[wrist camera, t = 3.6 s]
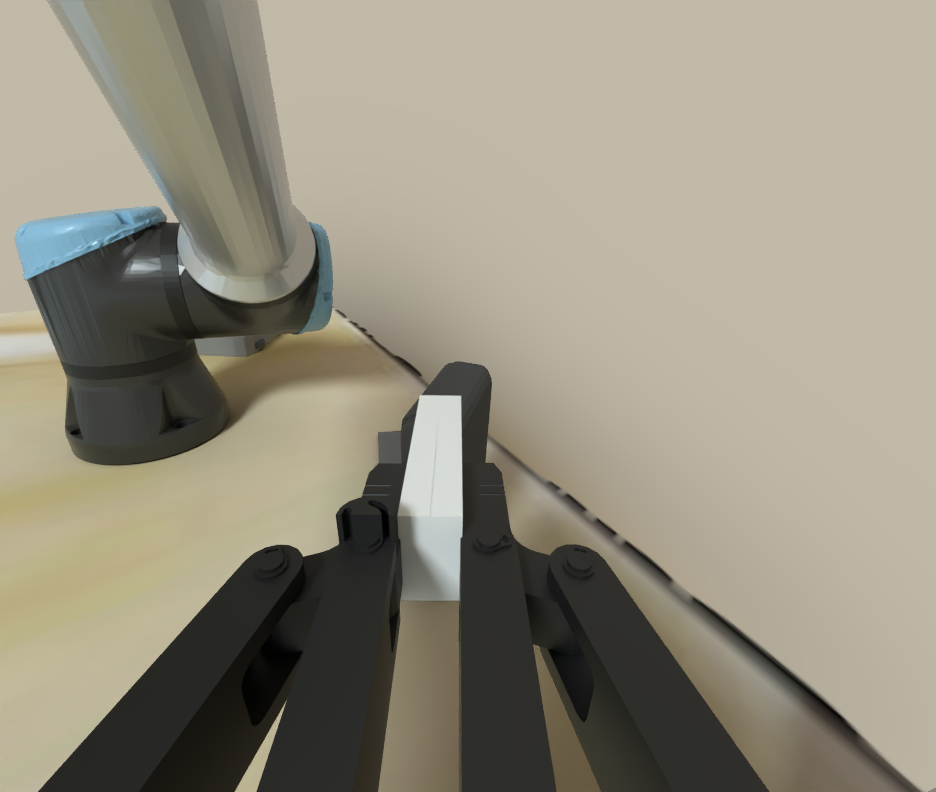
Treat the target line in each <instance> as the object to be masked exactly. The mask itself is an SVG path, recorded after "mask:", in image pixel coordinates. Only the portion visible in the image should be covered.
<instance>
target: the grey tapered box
mask: <svg viewBox="0 0 936 792" xmlns="http://www.w3.org/2000/svg"><path fill="white" fill-rule="evenodd" d="M278 335H279V334H270V335H253V336H236V337H220V338H206V339H194V340H195V344H196V348H197V352H198V355H210V356H233V357H241V356H249V355H252V354H254V353H256V352H257V351H258V350H260V349H261V348H262V347H264V346H265V345H266V344H267V343H269V342H270V341H271V340H273V339H274V338H275V337H276V336H278Z"/></svg>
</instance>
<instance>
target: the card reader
mask: <svg viewBox="0 0 936 792" xmlns="http://www.w3.org/2000/svg"><path fill="white" fill-rule="evenodd" d="M491 386H492V382H491V377H490V374H489V372H488V370H487V369H486V368H485V367H484V366H482V365H478V364H471V363H465V362H454V363H449V364H447V365H445V366H444V368H443V369H442V370H441V371H440V373H439V374H438V375H437V376H436V378H435V379H434V380H433V381H432V383H431V384H430V385H429V386H428V388H427V389H426V390H425V391H424V393H423V394H422V395H441V396H461V425H462V463H485V459H486V447H487V435H488V424H489V412H490V400H491V388H492V387H491ZM418 402H419V399H418V400H417V402H416V403H415V404H414V405H413V407H412V408H411V409H410V410H409V412H408V413H407V414H406V415H405V417H404V418H403V420H402V429H401V463H405V464H407V461H408V456H409V451H410V445H411V440H412V435H413V429H414V424H415V418H416V413H417V408H418Z"/></svg>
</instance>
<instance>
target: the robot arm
mask: <svg viewBox="0 0 936 792" xmlns="http://www.w3.org/2000/svg"><path fill="white" fill-rule="evenodd" d="M47 1H48V3H49V5H50V6H51V8H52V10H53V11H54V13H55V15H56V16H57V18H58V20H59V21H60V23H61V25H62V26H63V28H64V30H65V31H66V33H67V35H68V36H69V38H70V40H71V41H72V43H73V45H74V47H75V48H76V50H77V52H78V53H79V55H80V57H81V58H82V60H83V62H84V63H85V65H86V67H87V68H88V70H89V72H90V73H91V75H92V77H93V78H94V80H95V82H96V83H97V85H98V87H99V88H100V90H101V92H102V93H103V95H104V97H105V98H106V100H107V102H108V104H109V105H110V107H111V108H112V110H113V112H114V113H115V115H116V117H117V119H118V120H119V122H120V124H121V125H122V127H123V129H124V130H125V132H126V134H127V135H128V137H129V139H130V140H131V142H132V144H133V145H134V147H135V149H136V150H137V152H138V154H139V156H140V157H141V159H142V160H143V162H144V164H145V165H146V167H147V169H148V170H149V172H150V174H151V176H152V177H153V179H154V181H155V182H156V184H157V186H158V187H159V189H160V190H161V192H162V194H163V196H164V197H165V199H166V201H167V202H168V204H169V206H170V207H171V209H172V211H173V212H174V214H175V216H176V217H177V219H178V221H179V223H167V222H166V220H167V218H166V215H165V214H164V213H163V212H162V210H161V209H160V208H159V207H156V206H151V207H135V208H125V209H115V210H107V211H98V212H90V213H82V214H74V215H67V216H59V217H53V218H46V219H39V220H34V221H30V222H27V223H25V224H23V225H21V226H20V227H19V228H18V230H17V231H16V234H15V243H16V247H17V250H18V254H19V257H20V260H21V264H22V267H23V270H24V274H23V276H24V279H25V280H27V281H28V283H29V286H30V288H31V291H32V293H33V295H34V298H35V301H36V303H37V305H38V308H39V310H40V313H41V315H42V318H43V320H44V323H45V325H46V327H47V330H48V332H49V335H50V337H51V340H52V342H53V345H54V347H55V349H56V352H57V354H58V357H59V359H60V361H61V364H62V366H63V369H64V371H65V374H66V377H67V399H66V419H65V433H66V437H67V439H68V441H69V444H70V446H71V449H72V451H73V453H74V454H75V455H76V456H77V457H78V458H80V459H82V460H84V461H87V462H90V463H95V464H104V465H122V464H133V463H141V462H146V461H152V460H156V459H160V458H164V457H168V456H171V455H174V454H177V453H180V452H183V451H186V450H188V449H191V448H193V447H195V446H197V445H199V444H201V443H203V442H205V441H207V440H208V439H210V438H212V437H213V436H215V435H216V434H217V433H218V432H220V431H221V430H222V429H223V428H224V427H225V425H226V424H227V422H228V420H229V417H230V413H229V408H228V404H227V400H226V397H225V395H224V393H223V392H222V390H221V389H220V387H219V386H218V384H217V383H216V381H215V380H214V378H213V377H212V375H211V374H210V372H209V371H208V369H207V368H206V366H205V365H204V363H203V362H202V360H201V359H200V357H199V355H198V352H197V348H196V344H195V340H194V339H206V338H220V337H236V336H253V335H270V334H286V333H291V334H294V335H295V334H302V333H304V332H309V331H318V330H321V329H323V328H324V327H326V325H327V324H328V323H329V320H330V317H331V312H332V302H333V300H332V299H333V298H332V290H333V272H332V259H331V252H330V244H329V240H328V236H327V234H326V231H325V230H324V229H323V227H322V226H321V225H318V224H313V223H311V222H308V221H307V220H306V218H305V217H304V215H303V214H302V213H301V212H300V211H299V210H298V209H297V208H296V207H295V206H294V205H293V204H292V201H291V196H290V190H289V184H288V178H287V172H286V166H285V161H284V155H283V149H282V143H281V137H280V131H279V126H278V120H277V114H276V108H275V102H274V96H273V91H272V85H271V79H270V73H269V67H268V62H267V55H266V50H265V44H264V38H263V32H262V27H261V20H260V15H259V9H258V3H257V0H47ZM336 521H337V528H338V536H339V545H338V546H336V547H334V548H332V549H330V550H327V551H324V552H321V553H317V554H313V555H309V556H305V557H303V556H302V554H301V553H300V551H299V550H298V549H297V548H294V547H292V546H289V545H275V546H270V547H266V548H264V549H262V550H260V551H258V552H256V553H254V554H253V555H251V556H250V557H249V558H248V559H247V560H245V561H244V563H243V564H242V565H241V566H240V567H239V568H238V569H237V570H236V571H235V573H234V574H233V575H232V576H231V577H230V578H229V579H228V580H227V582H226V583H225V584H224V585H223V586H222V587H221V588H220V589H219V590H218V592H217V593H216V594H215V595H214V596H213V597H212V598H211V599H210V600H209V602H208V603H207V604H206V605H205V606H204V607H203V608H202V609H201V611H200V612H199V613H198V614H197V615H196V616H195V617H194V618H193V619H192V621H191V622H190V623H189V624H188V625H187V626H186V627H185V628H184V629H183V631H182V632H181V633H180V634H179V635H178V636H177V637H176V638H175V640H174V641H173V642H172V643H171V644H170V645H169V646H168V647H167V648H166V650H165V651H164V652H163V653H162V654H161V655H160V656H159V657H158V658H157V660H156V661H155V662H154V663H153V664H152V665H151V666H150V667H149V668H148V670H147V671H146V672H145V673H144V674H143V675H142V676H141V677H140V679H139V680H138V681H137V682H136V683H135V684H134V685H133V686H132V687H131V689H130V690H129V691H128V692H127V693H126V694H125V695H124V696H123V697H122V699H121V700H120V701H119V702H118V703H117V704H116V705H115V706H114V708H113V709H112V710H111V711H110V712H109V713H108V714H107V715H106V716H105V718H104V719H103V720H102V721H101V722H100V723H99V724H98V725H97V726H96V728H95V729H94V730H93V731H92V732H91V733H90V734H89V735H88V737H87V738H86V739H85V740H84V741H83V742H82V743H81V744H80V745H79V747H78V748H77V749H76V750H75V751H74V752H73V753H72V754H71V755H70V757H69V758H68V759H67V760H66V761H65V762H64V763H63V764H62V766H61V767H60V768H59V769H58V770H57V771H56V772H55V773H54V774H53V776H52V777H51V778H50V779H49V780H48V781H47V782H46V783H45V784H44V786H43V787H42V788H41V789H40V790H39V791H38V792H235V790H236V788H237V786H238V785H239V783H240V781H241V779H242V778H243V776H244V774H245V772H246V771H247V769H248V767H249V765H250V763H251V762H252V760H253V758H254V756H255V755H256V753H257V751H258V749H259V748H260V746H261V744H262V742H263V741H264V739H265V737H266V735H267V734H268V732H269V730H270V728H271V727H272V725H273V723H274V721H275V720H276V718H277V716H278V714H279V713H280V711H281V709H282V707H283V706H284V704H285V702H286V700H287V702H286V705H285V708H284V711H283V714H282V717H281V720H280V723H279V726H278V729H277V732H276V735H275V738H274V741H273V744H272V747H271V750H270V753H269V756H268V759H267V762H266V765H265V768H264V771H263V774H262V777H261V780H260V783H259V786H258V789H257V792H378V787H379V779H380V771H381V764H382V756H383V748H384V741H385V733H386V726H387V718H388V710H389V703H390V695H391V687H392V680H393V672H394V665H395V657H396V649H397V642H398V634H399V626H400V598H401V592H402V601H460V606H459V792H556V786H555V779H554V773H553V767H552V761H551V755H550V748H549V742H548V736H547V730H546V723H545V717H544V711H543V705H542V698H541V692H540V686H539V680H538V674H537V667H536V661H535V655H534V649H533V644H535V645H538V646H539V647H540V651H541V653H542V656H543V658H544V660H545V663H546V665H547V667H548V669H549V672H550V674H551V676H552V679H553V681H554V683H555V686H556V688H557V690H558V693H559V695H560V697H561V699H562V702H563V704H564V706H565V709H566V711H567V713H568V716H569V718H570V720H571V723H572V725H573V727H574V729H575V732H576V734H577V736H578V739H579V741H580V743H581V746H582V748H583V750H584V753H585V755H586V757H587V759H588V762H589V764H590V766H591V769H592V771H593V773H594V776H595V778H596V780H597V783H598V785H599V787H600V790H601V792H769V791H768V789H767V788H766V786H765V785H764V784H763V782H762V781H761V779H760V778H759V777H758V775H757V774H756V772H755V771H754V770H753V768H752V767H751V765H750V764H749V762H748V761H747V760H746V758H745V757H744V755H743V754H742V753H741V751H740V750H739V748H738V747H737V746H736V744H735V743H734V741H733V740H732V739H731V737H730V736H729V734H728V733H727V731H726V730H725V729H724V727H723V726H722V724H721V723H720V722H719V720H718V719H717V717H716V716H715V715H714V713H713V712H712V710H711V709H710V708H709V706H708V705H707V703H706V702H705V701H704V699H703V698H702V696H701V695H700V693H699V692H698V691H697V689H696V688H695V686H694V685H693V684H692V682H691V681H690V679H689V678H688V677H687V675H686V674H685V672H684V671H683V670H682V668H681V667H680V665H679V664H678V662H677V661H676V660H675V658H674V657H673V655H672V654H671V653H670V651H669V650H668V648H667V647H666V646H665V644H664V643H663V641H662V640H661V639H660V637H659V636H658V634H657V633H656V632H655V630H654V629H653V627H652V626H651V624H650V623H649V622H648V620H647V619H646V617H645V616H644V615H643V613H642V612H641V610H640V609H639V608H638V606H637V605H636V603H635V602H634V601H633V599H632V598H631V596H630V595H629V594H628V592H627V591H626V589H625V588H624V586H623V585H622V584H621V582H620V581H619V579H618V578H617V577H616V575H615V574H614V572H613V571H612V570H611V568H610V567H609V565H608V564H607V563H606V561H605V560H604V559H603V558H602V557H601V556H600V555H599V554H598V553H597V552H595V551H593V550H591V549H590V548H588V547H584V546H580V545H564V546H561V547H558V548H556V549H555V550H554V551H553V552H552V553H551V555H546V554H542V553H539V552H535V551H532V550H530V549H528V548H526V547H524V546H522V545H521V544H520V543H519V542H518V541H516V539H515V538H514V536H513V535H512V533H511V530H510V524H509V518H508V511H507V504H506V498H505V491H504V486H503V478H502V473H501V472H500V470H499V469H498V468H497V467H496V466H495V464H494V463H462V425H461V396H441V395H420V397H419V402H418V408H417V413H416V418H415V424H414V429H413V435H412V440H411V445H410V451H409V456H408V461H407V464H405V463H379V464H378V465H377V466H376V467H375V468H374V469H373V470H372V471H371V472H370V473H369V475H368V478H367V481H366V486H365V488H364V491H363V496H362V497H361V498H357V499H355V500H352V501H349V502H348V503H346V504H345V505H343V506H342V507H341V508H340V509H339V511H338V512H337V514H336ZM287 698H288V699H287Z"/></svg>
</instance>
